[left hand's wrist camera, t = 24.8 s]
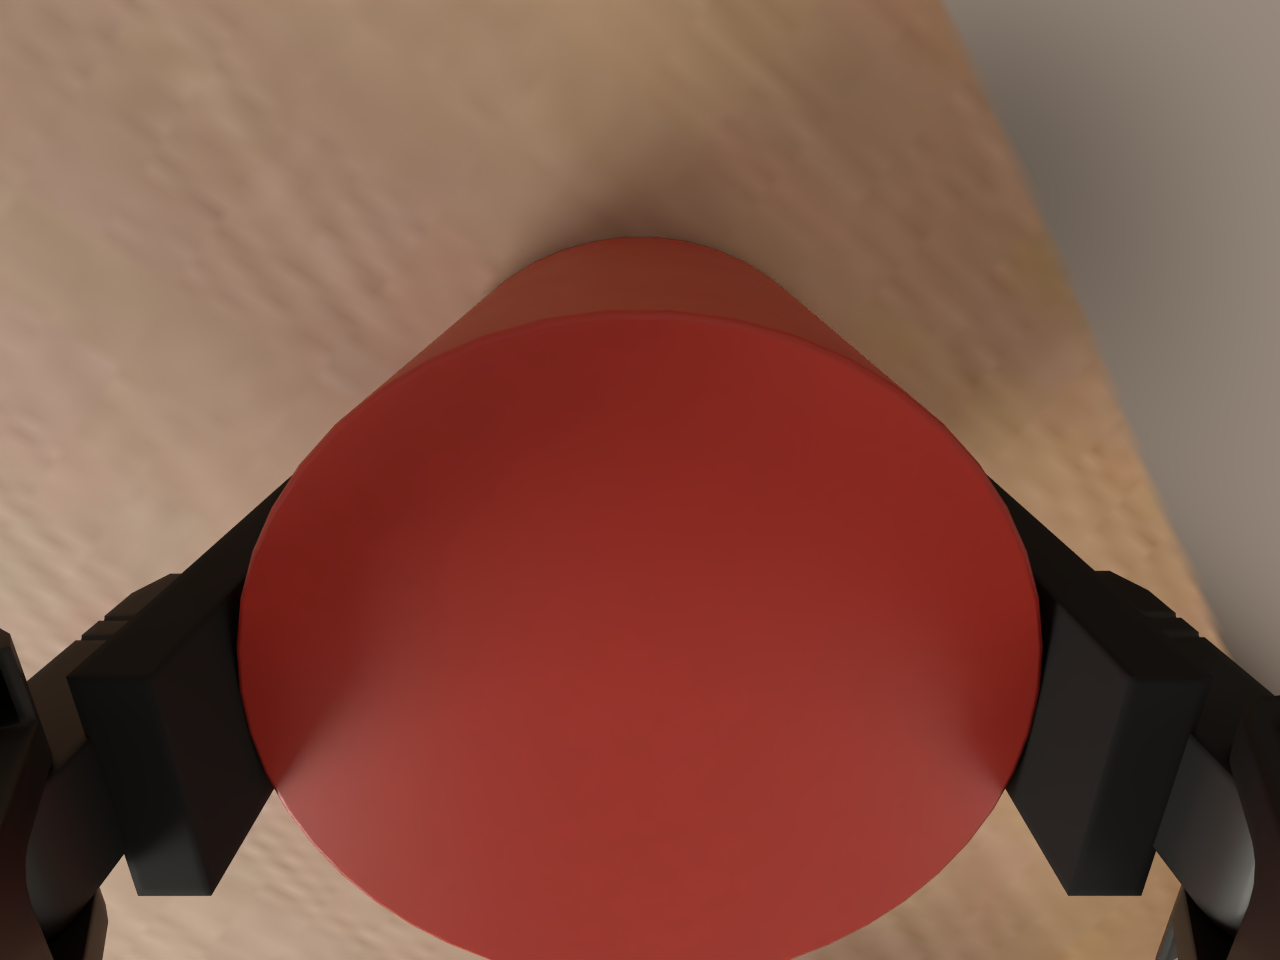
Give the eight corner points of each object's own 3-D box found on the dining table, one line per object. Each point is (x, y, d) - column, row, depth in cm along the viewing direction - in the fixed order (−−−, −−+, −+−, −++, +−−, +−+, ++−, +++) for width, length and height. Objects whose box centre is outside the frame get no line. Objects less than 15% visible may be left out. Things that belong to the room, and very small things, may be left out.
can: (432, 630, 18) (279, 970, 10) (415, 220, 14) (171, 279, 7) (820, 652, 18) (949, 1000, 10) (891, 252, 15) (1155, 342, 7)
